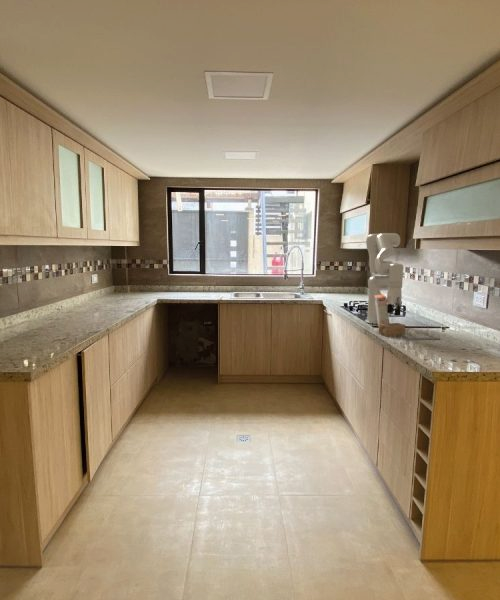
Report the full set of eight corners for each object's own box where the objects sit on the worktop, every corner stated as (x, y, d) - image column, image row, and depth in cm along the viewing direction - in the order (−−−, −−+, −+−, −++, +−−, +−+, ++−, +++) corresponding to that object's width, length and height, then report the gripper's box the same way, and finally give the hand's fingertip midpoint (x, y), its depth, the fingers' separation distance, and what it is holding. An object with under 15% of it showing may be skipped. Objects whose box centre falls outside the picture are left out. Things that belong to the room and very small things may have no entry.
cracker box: (391, 330, 226) (386, 296, 224) (380, 331, 228) (376, 298, 225) (387, 325, 240) (383, 293, 237) (377, 326, 241) (373, 295, 239)
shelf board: (378, 334, 221) (379, 324, 220) (397, 332, 226) (397, 322, 225) (385, 336, 216) (386, 326, 215) (404, 334, 221) (405, 324, 220)
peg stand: (400, 335, 218) (401, 328, 218) (430, 335, 219) (430, 328, 219) (408, 339, 208) (409, 332, 208) (439, 339, 209) (440, 332, 209)
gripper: (382, 283, 225) (381, 311, 227) (395, 286, 208) (393, 316, 210) (394, 283, 225) (393, 311, 227) (408, 286, 208) (406, 316, 210)
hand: (393, 314), depth 218 cm, fingers open, 9 cm apart
